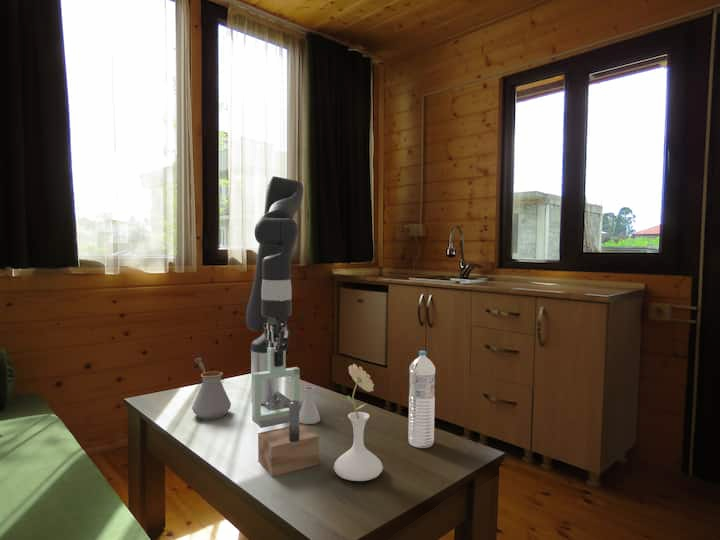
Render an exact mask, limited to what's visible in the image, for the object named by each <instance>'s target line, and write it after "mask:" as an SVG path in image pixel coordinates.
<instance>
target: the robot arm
mask: <svg viewBox="0 0 720 540" xmlns="http://www.w3.org/2000/svg"><path fill="white" fill-rule="evenodd" d="M265 193H266V194H265V201H264V210H263V211H264V212H263V215H262V216H261V217H260V218H258V220H257V221H256V223H255V227H254V238H255V240H256V242H257V243H258V244H259V245H258V250H257V256H256V265H255V272H254V276H253V283H252V287H251V293H250V296H249V299H248V304H247V307H246V313H245V323H246V327H247V329H248V330H250V331H251V332H262V331H263V333H262V334H260V336H259V337H257V338H256V339H254V340H253V341H252V342H251V344H250V345H251V346H250V357H251V358H250V363H251V364H250V365H251V367H250V369H251V371H250V375H251V377H250V378H251V381H250V382H251V384H250V385H251V387H250V389H251V391H250V394H251V395H250V397H251V398H250V399H251V400H250V401H251V402H252V373H257V372H264V371H267V348H268V347H274V366H275V367H280V366H283V351H285V350H286V351H287V350H288V347H289V343H290V340H291V336H292V335H291V334H292V331H291V329H288V327H287V322H286V321H287V320H286V318H288V317H290V316H292V296H293V295H292V291H293V290H292V283H291V282H292V280H291V278H292V277H291V275H292V274H291V265H292V257H293V251H294V248H295V245H296V243H297V238H298V235H299V228H298V224H297V223H296V221H295V220H294V217H295V215H296V213H297V212H298V211H299V209H300V206H302V202H303V197H304V186H303V184H302V182H300V181H298V180H295V179H288V178H285V177H279V176H275V175H274V176H271V177H270V178H269V180H268V183H267V187H266V192H265ZM276 391H279V392H280V377H279V378H272V379H265V380H261V405H264V402H265V401H267V402H269V403H270V401H271V399H272V397H273V395H274V393H275V392H276ZM279 400H280V398H277V399H276V401H275V403H277V402H278V401H279Z"/></svg>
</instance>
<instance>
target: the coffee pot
mask: <svg viewBox="0 0 720 540" xmlns="http://www.w3.org/2000/svg"><path fill="white" fill-rule="evenodd" d="M194 361H195V363H197V364H199V368H200V371H201V372H202V373H201V374H200V377H201V379H202V382H201V383H202V384H201V385H200V388H199V390H198V393H197V395H196V398H195V400H194V402H193V404H192V407H191V410H192V411H193V414H195V416H197V417H198V418H199V419H201V420H207V421H208V420H217V419H220V418H222V417H224V416H225V414H226V413H228V411H230V409H231V405H232V403H231V401H230V399H229V397H228V394H227V391H226V390H225V387H224V385H223V384H222V381H221V379H222V376H224V375H223V374H224V372H221V371H216V370H215V371H206V368H205V365H204V364H203V362H202V361H203V359H202V358H201V357H197V358H195V360H194Z"/></svg>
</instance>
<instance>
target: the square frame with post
mask: <svg viewBox="0 0 720 540" xmlns="http://www.w3.org/2000/svg"><path fill="white" fill-rule="evenodd" d="M286 351H287V350H285V351H283V366H280V367H275V366H274V347H268V348H267V371H264V372H257V373H252V401H251V402H252V403H251V404H252V405H251V409H252V410H251V414H252V415H251V418H252V419H251V420H252V422H253V423H254V424H257V426H258V427H259V429H260V428H261V429H262V428H263V429H264V428H268V427H274V426H278V425H284V424H289V407H285V408H279V409H274V410H269V411H264V412H262V409H261V408H262V406H261V405H262V404H261V380H265V379H272V378H279V379H280V378H285V377H290V379H291V381H290V385H291V386H290V390H291V392H290V394H291V395H290V398H291V399H290V400H291V401H294V400H296V401H299V414H300V410H301V407H300V406H301V405H300V400H301V398H300V392H301V391H300V389H301V388H300V385H301V384H300V381H301V380H300V379H301V378H300V376H301V374H300V371H301V370H300V368H299V367H298V366H294V367H293V366H292V367H286V355H287V352H286Z"/></svg>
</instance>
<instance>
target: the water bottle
mask: <svg viewBox="0 0 720 540" xmlns="http://www.w3.org/2000/svg"><path fill="white" fill-rule="evenodd" d="M418 353H419V354H418V355H419V356H418V357H416V358H415V359H414V360H413V361H412V362H411V364H410V365H409V368H408V369H409V395H408V432H407V433H408V438H407V439H408V443H409V445H411V447H414V448H418V449H428V448H431V447H432V446H433V445H434V443H435V441H434V440H435V409H436V408H435V403H436V401H435V400H436V399H435V398H436V397H435V389H436V388H435V383H436V382H435V378H436V367H435V364H434V363H433V362H432V361H431V359H429V358H428V357H427V351H426V350H419V351H418Z"/></svg>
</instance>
